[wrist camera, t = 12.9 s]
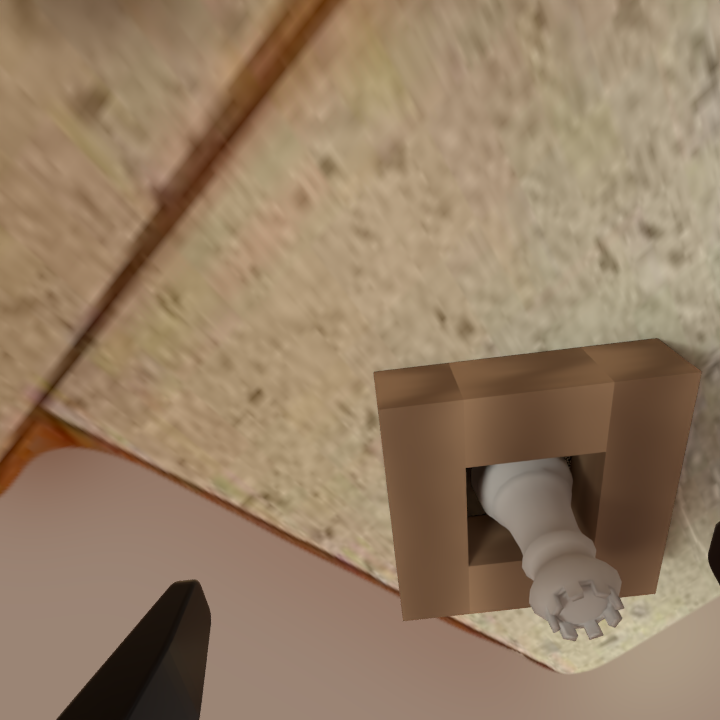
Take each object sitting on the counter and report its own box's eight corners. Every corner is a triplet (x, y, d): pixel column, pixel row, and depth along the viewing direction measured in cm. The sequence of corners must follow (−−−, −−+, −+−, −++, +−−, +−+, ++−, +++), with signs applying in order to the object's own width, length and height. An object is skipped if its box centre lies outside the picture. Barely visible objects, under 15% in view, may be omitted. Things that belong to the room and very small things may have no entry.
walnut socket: (657, 338, 22) (701, 371, 19) (624, 544, 27) (655, 593, 24) (373, 372, 22) (378, 409, 19) (396, 570, 27) (403, 621, 25)
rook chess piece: (459, 441, 24) (511, 587, 17) (556, 417, 23) (651, 555, 16) (477, 512, 26) (529, 669, 19) (566, 490, 25) (655, 643, 18)
